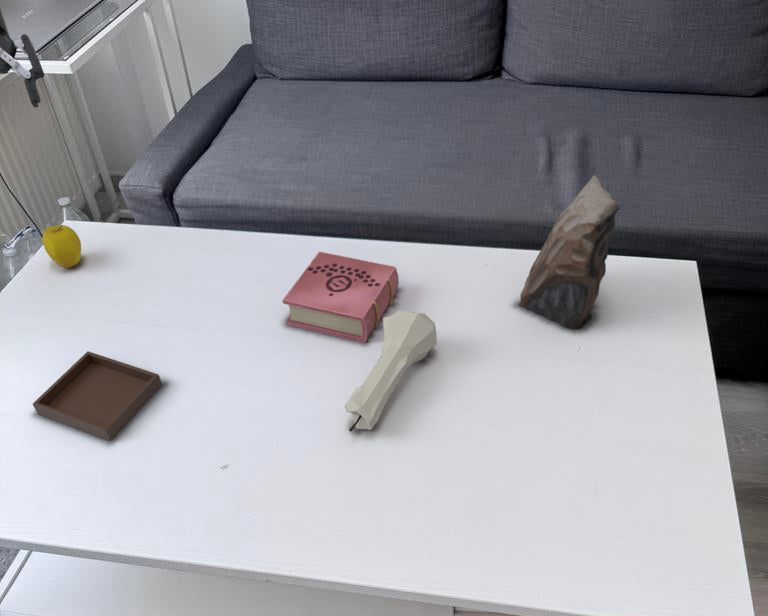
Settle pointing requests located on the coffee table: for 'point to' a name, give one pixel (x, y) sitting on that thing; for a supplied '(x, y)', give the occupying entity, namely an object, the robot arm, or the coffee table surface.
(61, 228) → the apple
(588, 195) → the brown rock
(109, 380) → the tray
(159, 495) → the coffee table surface
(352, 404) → the faceted club
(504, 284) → the coffee table surface
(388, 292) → the book
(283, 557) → the coffee table surface
